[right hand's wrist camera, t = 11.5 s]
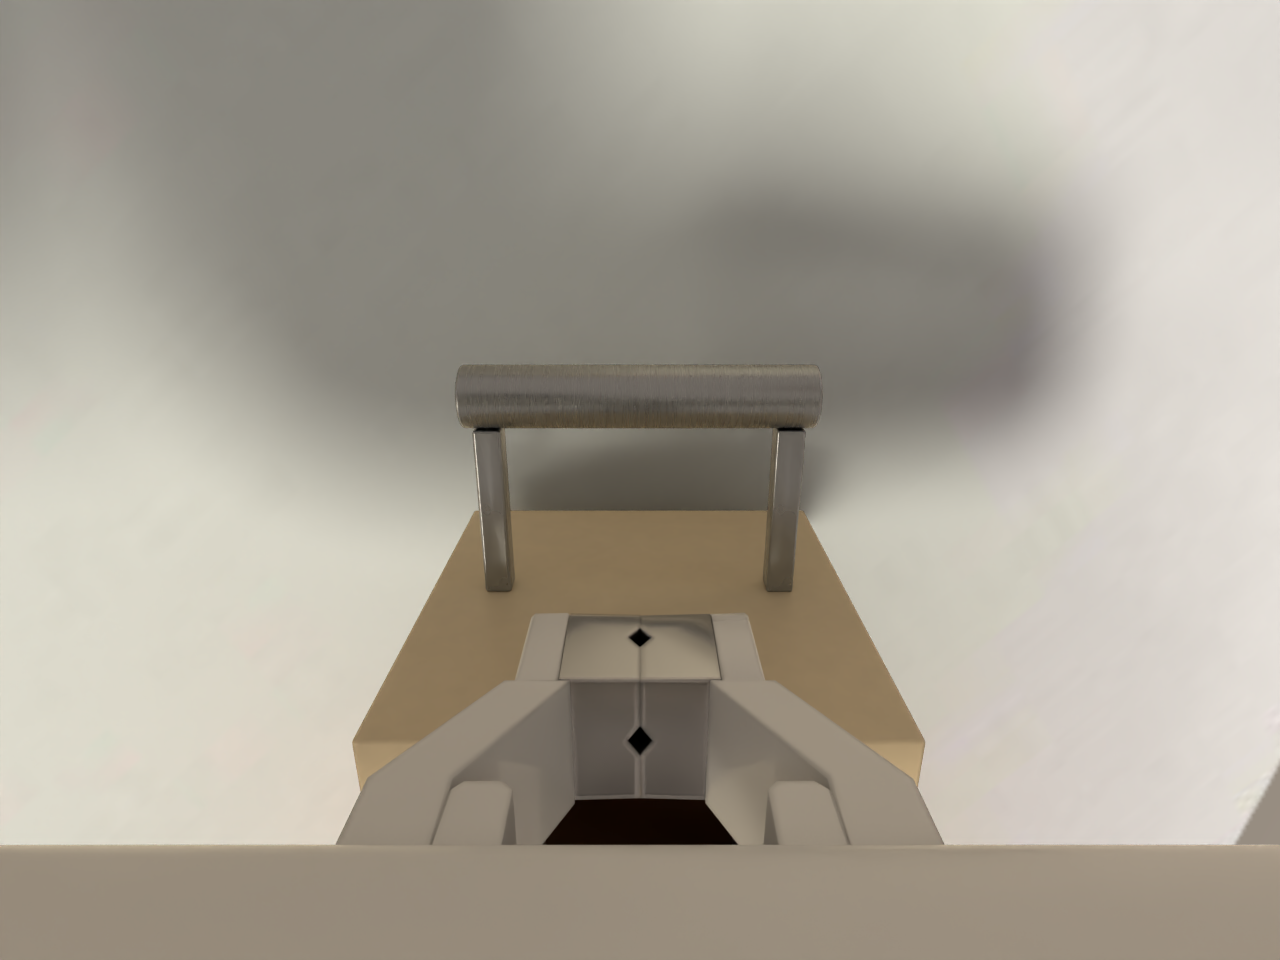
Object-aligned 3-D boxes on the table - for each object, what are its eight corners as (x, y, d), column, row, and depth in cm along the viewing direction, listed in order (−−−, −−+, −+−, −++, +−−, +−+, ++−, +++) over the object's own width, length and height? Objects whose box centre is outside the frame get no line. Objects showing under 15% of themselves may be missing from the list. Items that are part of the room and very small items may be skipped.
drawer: (458, 329, 19) (297, 443, 10) (819, 329, 19) (979, 443, 10) (509, 914, 27) (443, 1277, 18) (768, 914, 27) (834, 1277, 18)
